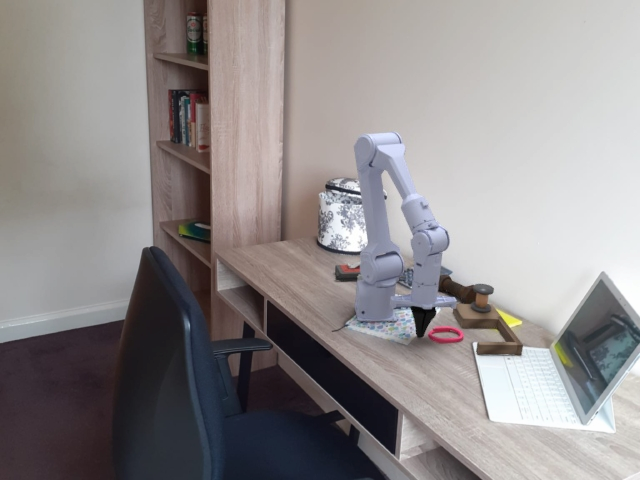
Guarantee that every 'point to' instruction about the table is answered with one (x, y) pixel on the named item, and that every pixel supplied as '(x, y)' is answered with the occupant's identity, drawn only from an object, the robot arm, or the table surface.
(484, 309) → the spool
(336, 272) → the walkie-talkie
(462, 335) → the fitness band
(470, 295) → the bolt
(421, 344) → the table surface
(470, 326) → the notched board
